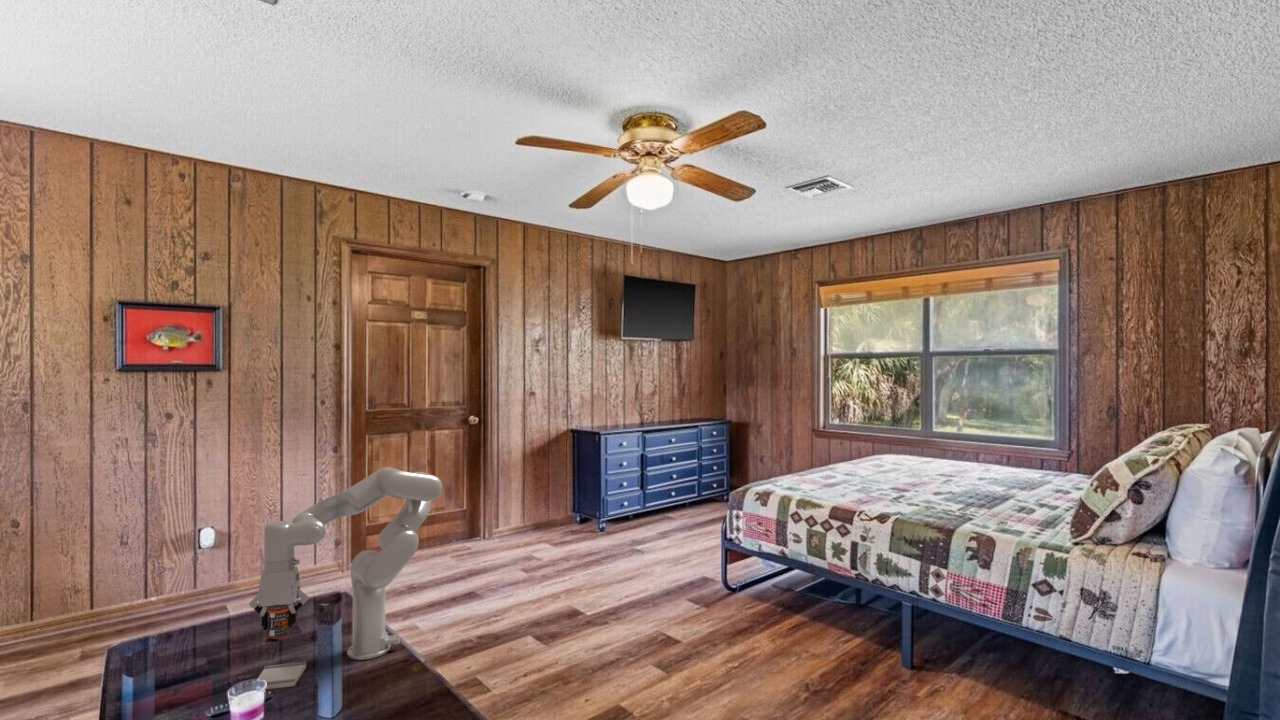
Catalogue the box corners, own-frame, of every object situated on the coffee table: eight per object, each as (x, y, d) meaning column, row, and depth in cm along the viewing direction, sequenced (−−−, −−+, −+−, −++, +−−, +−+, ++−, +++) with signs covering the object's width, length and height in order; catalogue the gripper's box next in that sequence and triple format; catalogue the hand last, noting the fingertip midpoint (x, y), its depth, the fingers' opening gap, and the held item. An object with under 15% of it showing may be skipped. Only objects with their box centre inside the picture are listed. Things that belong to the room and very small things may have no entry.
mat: (306, 667, 183) (306, 661, 183) (294, 685, 172) (294, 679, 172) (265, 671, 180) (265, 666, 180) (250, 691, 169) (251, 684, 169)
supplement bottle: (273, 641, 172) (274, 601, 172) (262, 636, 175) (263, 597, 175) (294, 634, 177) (295, 595, 177) (284, 629, 180) (284, 591, 180)
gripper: (315, 558, 182) (315, 618, 182) (251, 563, 178) (251, 624, 178) (308, 566, 175) (307, 629, 174) (240, 571, 171) (240, 635, 170)
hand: (279, 626), depth 176 cm, fingers closed on supplement bottle, 6 cm apart
